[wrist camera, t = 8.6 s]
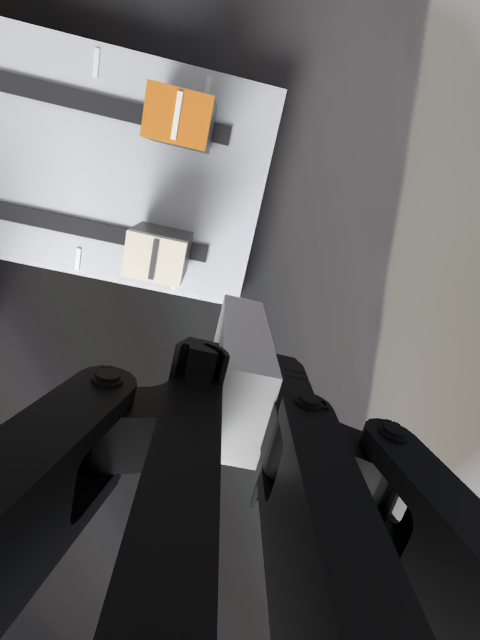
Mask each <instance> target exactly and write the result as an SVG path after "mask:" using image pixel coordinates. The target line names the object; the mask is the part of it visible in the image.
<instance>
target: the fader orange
mask: <svg viewBox="0 0 480 640" xmlns="http://www.w3.org/2000/svg"><path fill="white" fill-rule="evenodd" d="M216 113H217V104H216V99H215V96H214V95H210V94H206V93H202V92H198V91H194V90H190V89H186V88H182V87H178V86H174V85H170V84H166V83H162V82H158V81H154V80H150V79H147V84H146V92H145V100H144V107H143V115H142V123H141V131H140V136H142V137H144V138H147V139H149V140H152V141H154V142H159V143H163V144H167V145H171V146H175V147H180V148H184V149H188V150H192V151H197V152H201V153H205V154H209V151H210V146H211V140H212V135H213V129H214V124H215V118H216Z"/></svg>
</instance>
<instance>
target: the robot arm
mask: <svg viewBox="0 0 480 640" xmlns="http://www.w3.org/2000/svg"><path fill="white" fill-rule="evenodd" d="M308 380H309V379H308V377H307V375H306V372H305V369H304V367H303V365H302V364H301V363H300V362H299V361H297V360H296V359H295V358H293V357H288V356H284V355H279V354H276V352H275V348H274V345H273V341H272V337H271V333H270V330H269V326H268V322H267V318H266V315H265V311H264V307H263V303H262V302H257V301H253V300H249V299H244V298H240V297H235V296H231V295H226V294H225V296H224V301H223V305H222V309H221V313H220V318H219V322H218V326H217V331H216V335H215V339H214V342H212V341H207V340H202V339H197V338H193V337H188V338H186V339H185V340H183V341H180V342H179V343H178V344H177V345H176V347H175V352H174V357H173V362H172V366H171V371H170V376H169V380H168V381H167V382H166V383H164V384H161V385H158V386H153V387H137V381H136V378H135V377H134V376H133V375H132V374H131V373H130V372H127V371H125V370H123V369H121V368H116V367H114V366H108V365H107V366H106V365H100V366H95V367H88V368H86V369H84V370H81V371H80V372H78V373H77V374H75V375H74V376H72V377H71V378H69V379H68V380H66V381H65V382H63V383H62V384H60V385H59V386H57V387H56V388H54V389H53V390H52V391H50V392H49V393H47V394H46V395H44V396H43V397H41V398H40V399H38V400H37V401H35V402H34V403H32V404H31V405H29V406H28V407H26V408H25V409H23V410H22V411H20V412H19V413H18V414H16V415H15V416H13V417H12V418H10V419H9V420H7V421H6V422H4V423H3V424H1V425H0V639H1V638H2V636H3V635H4V634H5V632H6V631H7V630H8V628H9V627H10V626H11V624H12V623H13V622H14V620H15V619H16V618H17V617H18V615H19V614H20V613H21V611H22V610H23V609H24V607H25V606H26V605H27V603H28V602H29V601H30V599H31V598H32V597H33V595H34V594H35V593H36V591H37V590H38V589H39V587H40V586H41V585H42V583H43V582H44V581H45V579H46V578H47V577H48V575H49V574H50V573H51V571H52V570H53V569H54V567H55V566H56V565H57V564H58V562H59V561H60V560H61V558H62V557H63V556H64V554H65V553H66V552H67V550H68V549H69V548H70V546H71V545H72V544H73V542H74V541H75V540H76V538H77V537H78V536H79V534H80V533H81V532H82V530H83V529H84V528H85V526H86V525H87V524H88V522H89V521H90V520H91V518H92V517H93V516H94V514H95V513H96V512H97V511H98V509H99V508H100V507H101V505H102V504H103V503H104V501H105V500H106V499H107V497H108V496H109V495H110V493H111V492H112V491H113V489H114V488H115V487H116V485H117V484H118V482H119V479H120V477H121V474H131V473H141V476H140V480H139V483H138V487H137V490H136V494H135V497H134V500H133V504H132V507H131V511H130V514H129V518H128V521H127V525H126V528H125V531H124V535H123V538H122V542H121V545H120V549H119V552H118V556H117V559H116V563H115V566H114V569H113V573H112V576H111V580H110V583H109V587H108V590H107V594H106V597H105V600H104V604H103V607H102V611H101V614H100V618H99V621H98V625H97V628H96V632H95V635H94V638H93V640H217V609H218V566H219V523H220V480H221V464H223V465H229V466H234V467H240V468H245V469H251V470H256V467H257V464H258V460H259V457H260V454H261V460H262V466H261V470H260V473H259V476H258V480H257V483H256V486H255V489H254V493H253V496H252V499H251V503H250V507H251V508H254V506H255V503H256V501H257V500H259V512H260V523H261V534H262V546H263V557H264V568H265V580H266V591H267V602H268V614H269V625H270V636H271V640H480V498H478V497H477V496H476V495H475V494H474V493H473V492H472V491H471V490H470V489H469V488H468V487H467V486H466V485H465V484H464V483H463V482H462V481H461V480H460V479H459V478H458V477H457V476H456V475H455V474H454V473H453V472H452V471H451V470H450V469H449V468H448V467H447V466H446V465H445V464H444V463H443V462H442V461H441V460H440V459H439V458H438V457H436V456H435V455H434V454H433V453H432V452H431V451H430V450H429V449H428V448H427V447H426V446H425V445H424V444H423V443H422V442H421V441H420V440H419V439H418V438H417V437H416V436H415V435H414V434H412V433H411V432H410V431H408V430H407V429H406V428H404V427H402V426H400V424H398V423H396V422H394V421H393V422H392V421H391V420H387V419H385V420H384V419H379V418H376V419H369V420H368V421H366V423H365V425H364V428H363V431H360V430H357V429H355V428H352V427H349V426H347V425H344V424H342V423H340V422H339V420H338V418H337V416H336V414H335V411H334V409H333V408H332V406H331V405H330V404H329V403H328V402H327V401H326V400H324V399H323V398H321V397H319V396H317V395H315V394H314V392H313V390H312V387H311V384H310V382H309V381H308ZM398 497H400V498H401V499H402V500H403V502H404V503H405V504H406V505H407V509H406V511H405V513H404V516H403V518H402V520H401V521H400V522H399V521H398V520H396V518H395V517H394V516H393V514H392V511H393V508H394V506H395V504H396V502H397V499H398Z"/></svg>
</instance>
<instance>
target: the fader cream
mask: <svg viewBox="0 0 480 640" xmlns="http://www.w3.org/2000/svg"><path fill="white" fill-rule="evenodd" d="M193 234H194V232H190V231H185V230H181V229H176V228H172V227H167V226H162V225H158V224H153V223H149V222H144V221H142V222H140V223H138V224H136V225H135V226H133V227H131V228H129V229H128V230H126V238H125V245H124V253H123V261H122V269H121V276H123V277H128V278H133V279H138V280H142V281H147V282H152V283H157V284H162V285H167V286H172V287H177V288H180V285H181V283H182V281H183V278H184V276H185V274H186V271H187V267H188V261H189V256H190V250H191V245H192V239H193Z"/></svg>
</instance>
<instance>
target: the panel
mask: <svg viewBox="0 0 480 640" xmlns="http://www.w3.org/2000/svg"><path fill="white" fill-rule="evenodd" d="M147 79H150V80H154V81H158V82H162V83H166V84H170V85H174V86H178V87H182V88H186V89H190V90H194V91H198V92H202V93H206V94H210V95H214V96H215V99H216V104H217V113H216V118H215V124H214V129H213V135H212V140H211V146H210V151H209V154H205V153H201V152H197V151H192V150H188V149H184V148H180V147H175V146H171V145H167V144H163V143H159V142H154V141H152V140H149V139H147V138H144V137H142V136H140V131H141V123H142V115H143V107H144V100H145V92H146V84H147ZM286 93H287V89H284V88H280V87H276V86H272V85H268V84H264V83H260V82H256V81H252V80H249V79H245V78H241V77H237V76H233V75H229V74H225V73H221V72H217V71H213V70H209V69H205V68H202V67H198V66H194V65H190V64H186V63H182V62H178V61H174V60H170V59H166V58H162V57H159V56H155V55H151V54H147V53H143V52H139V51H135V50H131V49H127V48H123V47H119V46H115V45H112V44H108V43H104V42H100V41H96V40H92V39H88V38H84V37H80V36H76V35H72V34H69V33H65V32H61V31H57V30H53V29H49V28H45V27H41V26H37V25H33V24H29V23H25V22H22V21H18V20H14V19H10V18H6V17H2V16H0V259H1V260H6V261H11V262H16V263H21V264H26V265H31V266H36V267H41V268H45V269H50V270H55V271H60V272H65V273H70V274H75V275H80V276H85V277H90V278H95V279H100V280H105V281H110V282H115V283H120V284H124V285H129V286H134V287H139V288H144V289H149V290H154V291H159V292H164V293H169V294H174V295H179V296H184V297H189V298H194V299H199V300H203V301H208V302H213V303H218V304H223V301H224V296H225V294H226V295H231V296H235V297H240V294H241V289H242V285H243V281H244V276H245V272H246V268H247V263H248V259H249V255H250V250H251V246H252V241H253V237H254V233H255V228H256V224H257V220H258V215H259V211H260V206H261V202H262V198H263V193H264V189H265V185H266V180H267V176H268V171H269V167H270V163H271V158H272V154H273V150H274V145H275V141H276V137H277V132H278V128H279V123H280V119H281V115H282V110H283V106H284V102H285V97H286ZM142 221H144V222H149V223H153V224H158V225H162V226H167V227H172V228H176V229H181V230H185V231H190V232H194V234H193V239H192V245H191V250H190V256H189V261H188V267H187V271H186V274H185V276H184V278H183V281H182V283H181V285H180V288H177V287H172V286H167V285H162V284H157V283H152V282H147V281H142V280H138V279H133V278H128V277H123V276H121V269H122V261H123V253H124V245H125V238H126V230H128V229H129V228H131V227H133V226H135V225H136V224H138V223H140V222H142Z"/></svg>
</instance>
